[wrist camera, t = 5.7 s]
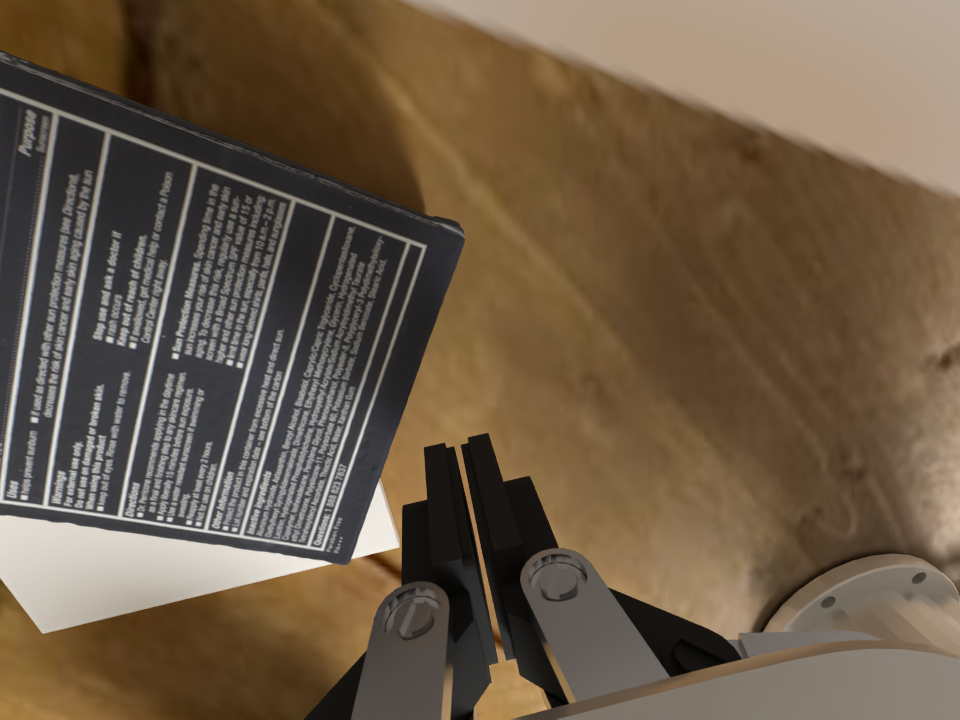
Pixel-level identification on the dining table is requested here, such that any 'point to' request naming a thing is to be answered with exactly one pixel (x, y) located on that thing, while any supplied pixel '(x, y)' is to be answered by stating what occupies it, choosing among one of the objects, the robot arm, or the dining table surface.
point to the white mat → (140, 566)
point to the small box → (198, 326)
